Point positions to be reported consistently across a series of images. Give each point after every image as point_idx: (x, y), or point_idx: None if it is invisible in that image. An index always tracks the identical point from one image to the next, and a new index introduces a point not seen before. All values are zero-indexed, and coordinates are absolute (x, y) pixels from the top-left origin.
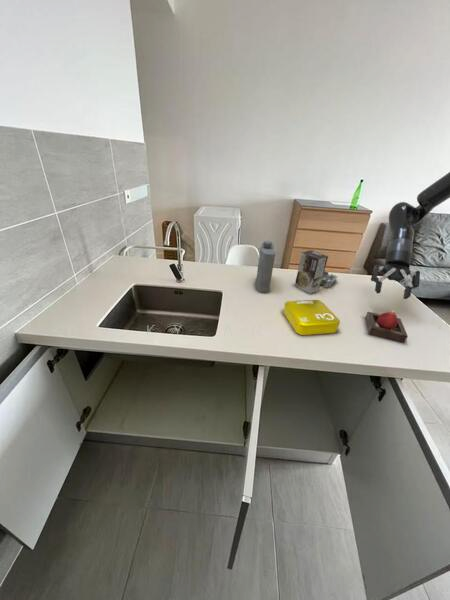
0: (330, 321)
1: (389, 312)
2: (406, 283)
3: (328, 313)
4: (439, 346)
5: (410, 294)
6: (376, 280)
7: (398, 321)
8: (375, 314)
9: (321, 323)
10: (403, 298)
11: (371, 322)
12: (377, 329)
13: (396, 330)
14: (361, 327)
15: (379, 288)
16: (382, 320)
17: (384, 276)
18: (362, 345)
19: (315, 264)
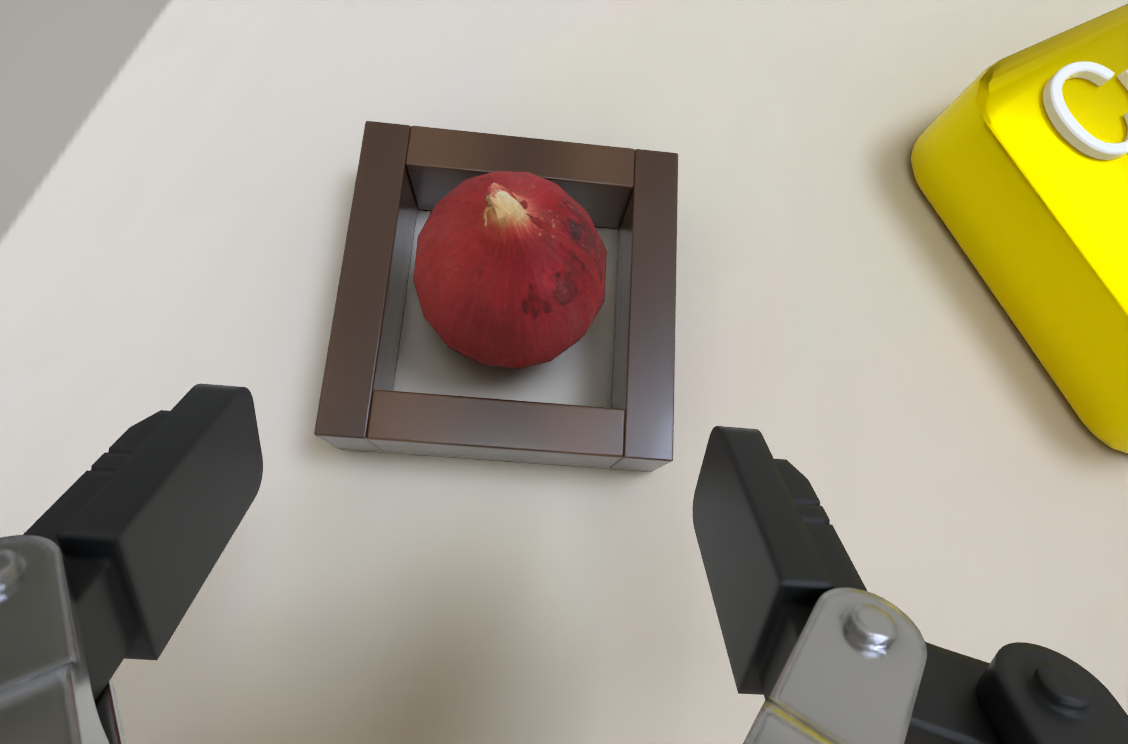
0: (1059, 61)
1: (537, 214)
2: (84, 660)
3: (1099, 181)
4: (59, 220)
5: (120, 445)
6: (928, 647)
7: (364, 355)
8: (595, 421)
9: (1119, 16)
10: (261, 473)
11: (666, 238)
12: (624, 149)
13: (400, 294)
14: (703, 286)
15: (765, 463)
16: (585, 210)
17: (841, 739)
18: (719, 56)
19: None
